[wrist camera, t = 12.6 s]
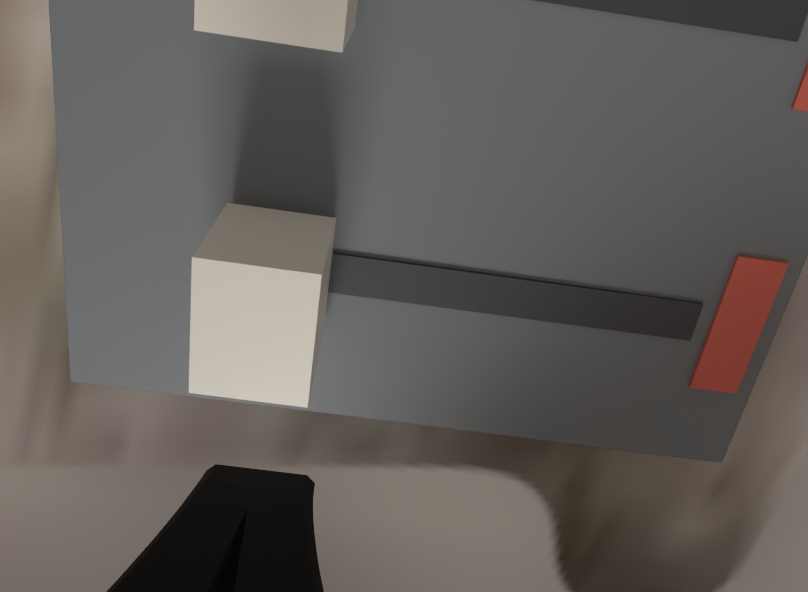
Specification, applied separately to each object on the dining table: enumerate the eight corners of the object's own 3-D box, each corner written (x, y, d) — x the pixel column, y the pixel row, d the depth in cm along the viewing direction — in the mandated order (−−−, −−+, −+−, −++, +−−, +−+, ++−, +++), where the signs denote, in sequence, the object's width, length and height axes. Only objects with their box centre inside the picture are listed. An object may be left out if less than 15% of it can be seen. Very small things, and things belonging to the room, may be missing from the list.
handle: (221, 321, 18) (188, 393, 15) (227, 202, 17) (191, 257, 14) (323, 335, 18) (307, 408, 15) (336, 217, 17) (322, 274, 14)
